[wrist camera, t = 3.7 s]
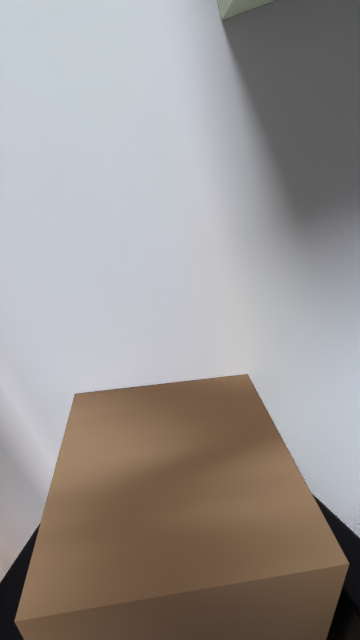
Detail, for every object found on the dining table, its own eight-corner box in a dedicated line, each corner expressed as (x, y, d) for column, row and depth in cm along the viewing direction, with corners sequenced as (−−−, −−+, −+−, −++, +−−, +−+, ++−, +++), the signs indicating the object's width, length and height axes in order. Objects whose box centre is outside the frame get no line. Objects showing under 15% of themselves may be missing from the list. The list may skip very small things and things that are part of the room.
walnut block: (247, 374, 8) (349, 563, 4) (241, 489, 10) (309, 694, 6) (74, 393, 8) (14, 621, 4) (101, 509, 10) (79, 742, 6)
